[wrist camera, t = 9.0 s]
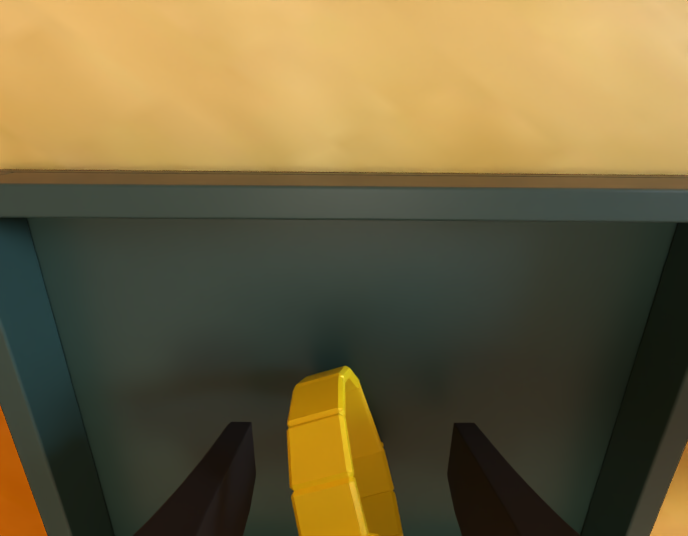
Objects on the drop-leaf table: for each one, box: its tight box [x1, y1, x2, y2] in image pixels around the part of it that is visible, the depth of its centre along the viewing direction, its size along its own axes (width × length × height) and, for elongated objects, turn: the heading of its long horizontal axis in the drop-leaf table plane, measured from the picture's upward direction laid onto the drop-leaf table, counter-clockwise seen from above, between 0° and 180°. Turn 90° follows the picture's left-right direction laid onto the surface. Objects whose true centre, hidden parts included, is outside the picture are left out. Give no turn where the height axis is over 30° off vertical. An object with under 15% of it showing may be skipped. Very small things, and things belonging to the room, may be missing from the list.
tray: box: [0, 169, 688, 536], centre depth 13 cm, size 20×16×2 cm
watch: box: [287, 366, 403, 536], centre depth 11 cm, size 6×3×6 cm, turn 18°
